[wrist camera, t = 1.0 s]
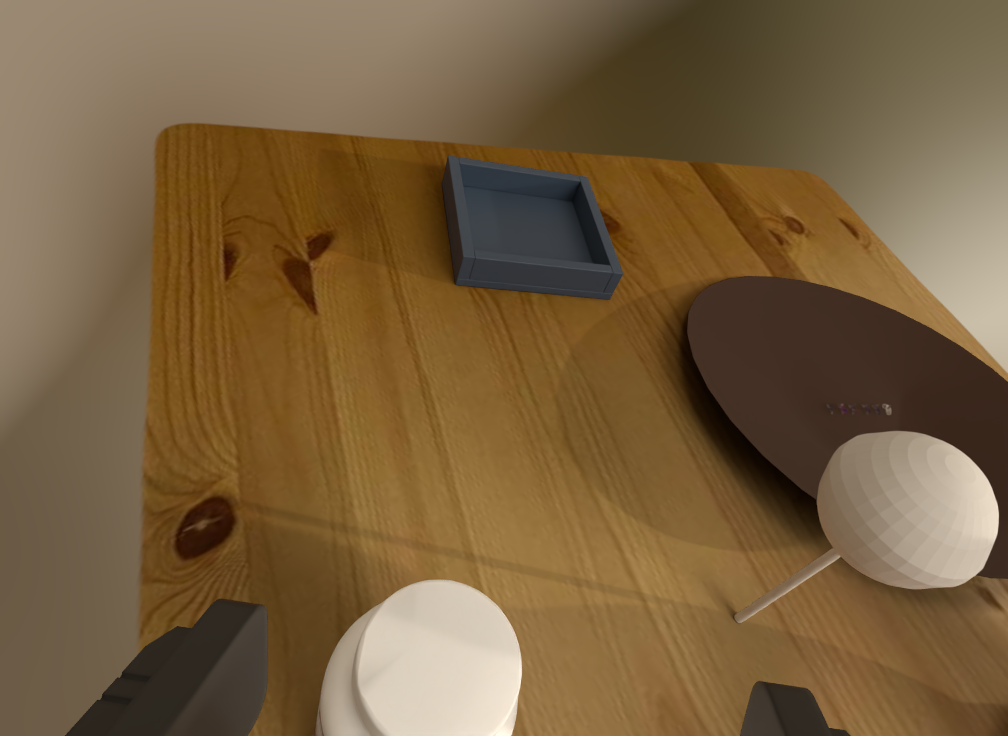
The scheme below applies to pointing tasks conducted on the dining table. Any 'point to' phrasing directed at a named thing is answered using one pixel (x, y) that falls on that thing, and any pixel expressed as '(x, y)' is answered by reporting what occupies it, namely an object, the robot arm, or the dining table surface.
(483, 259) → the tray
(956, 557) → the lollipop
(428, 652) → the pill bottle
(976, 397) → the plate
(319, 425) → the dining table surface
